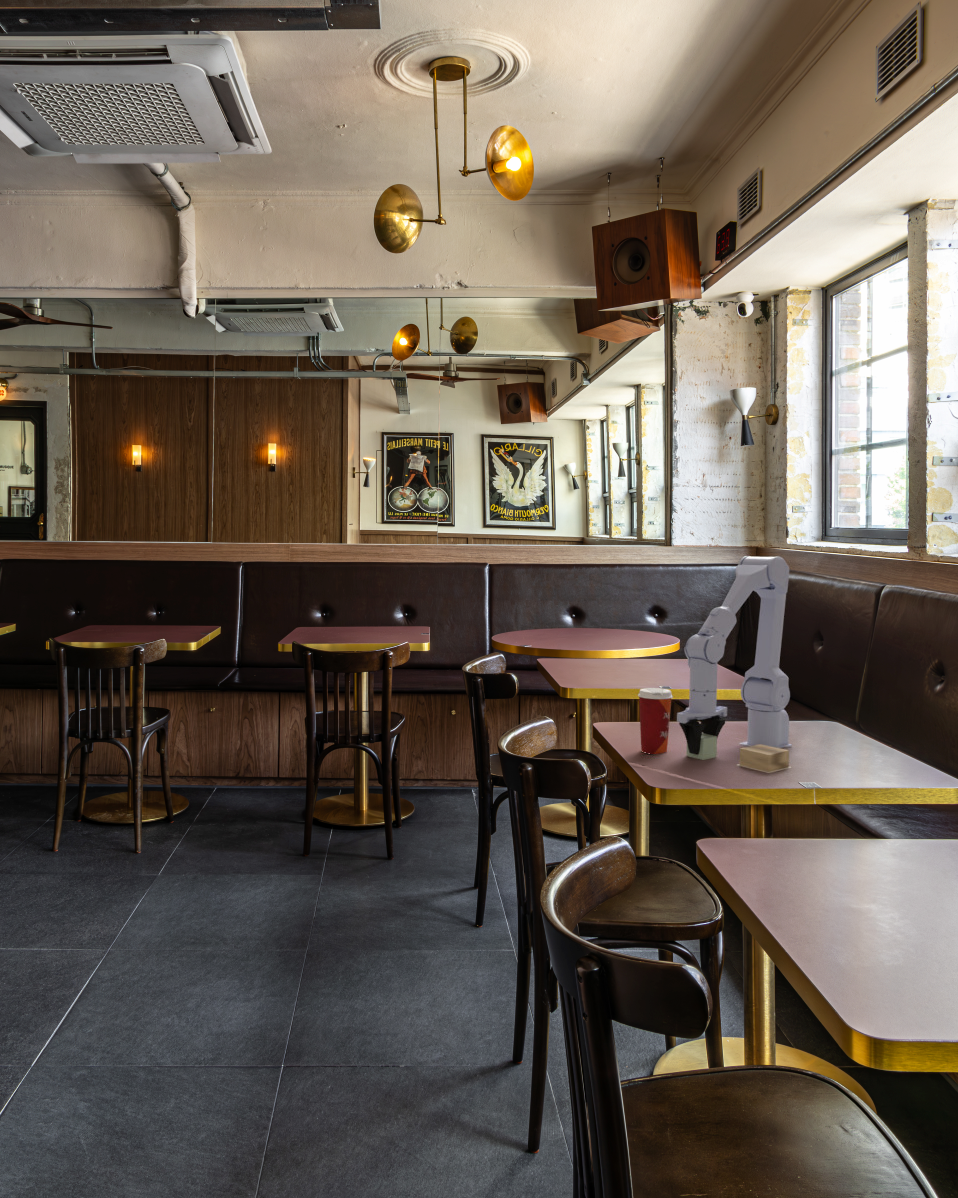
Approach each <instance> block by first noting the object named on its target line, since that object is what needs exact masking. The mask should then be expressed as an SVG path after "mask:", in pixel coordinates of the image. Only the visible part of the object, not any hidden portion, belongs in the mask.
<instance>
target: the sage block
mask: <svg viewBox="0 0 958 1198" xmlns="http://www.w3.org/2000/svg"><path fill="white" fill-rule="evenodd" d="M717 745H718V738H717V736H713V735H708V734H704V733H703V732H702V736H701V742H700V751H699V754H698V755H696V754H692V753H689V749H688V744H687V743H686V755H685V756H686V757H690V758H693V759H697V760H702V761H706V760H711V759H714V758H717V754H718V752H717V749H718V746H717Z"/></svg>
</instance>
